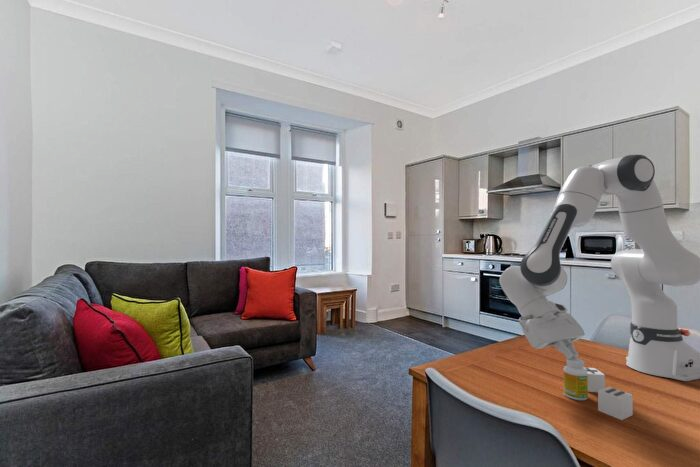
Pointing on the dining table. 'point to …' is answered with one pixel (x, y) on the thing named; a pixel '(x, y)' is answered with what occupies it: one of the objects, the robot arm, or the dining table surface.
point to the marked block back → (595, 380)
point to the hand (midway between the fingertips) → (574, 357)
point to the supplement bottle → (575, 379)
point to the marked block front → (615, 403)
